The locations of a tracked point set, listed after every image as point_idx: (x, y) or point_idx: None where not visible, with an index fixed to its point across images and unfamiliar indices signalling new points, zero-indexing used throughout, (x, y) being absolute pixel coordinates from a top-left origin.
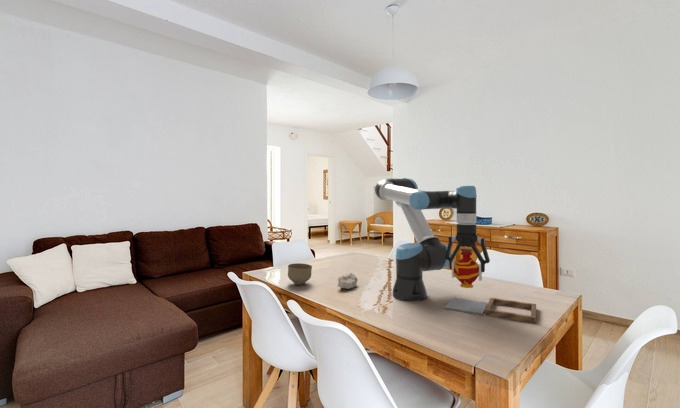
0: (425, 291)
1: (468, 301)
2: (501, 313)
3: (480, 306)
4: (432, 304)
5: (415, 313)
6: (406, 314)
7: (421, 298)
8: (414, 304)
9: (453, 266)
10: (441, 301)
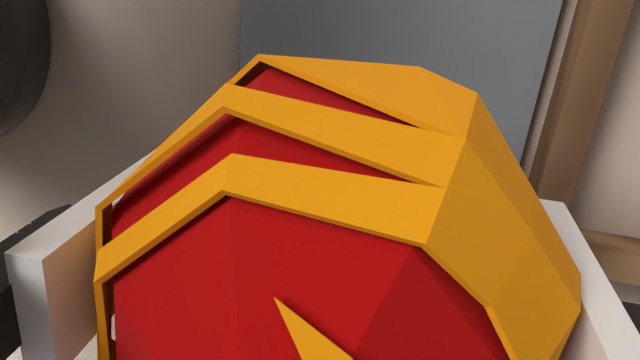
0: (3, 23)
1: (389, 3)
2: (637, 282)
3: (491, 107)
4: (141, 150)
5: (112, 330)
6: (79, 353)
7: (34, 92)
8: (44, 191)
9: (111, 347)
10: (178, 54)
